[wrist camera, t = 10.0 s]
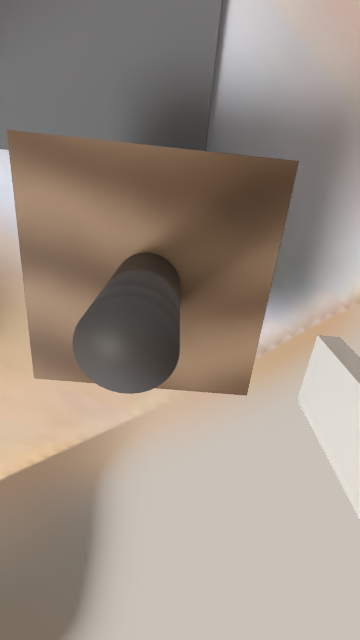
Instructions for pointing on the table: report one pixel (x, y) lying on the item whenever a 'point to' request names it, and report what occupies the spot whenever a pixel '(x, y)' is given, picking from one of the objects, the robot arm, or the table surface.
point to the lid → (146, 260)
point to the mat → (109, 69)
